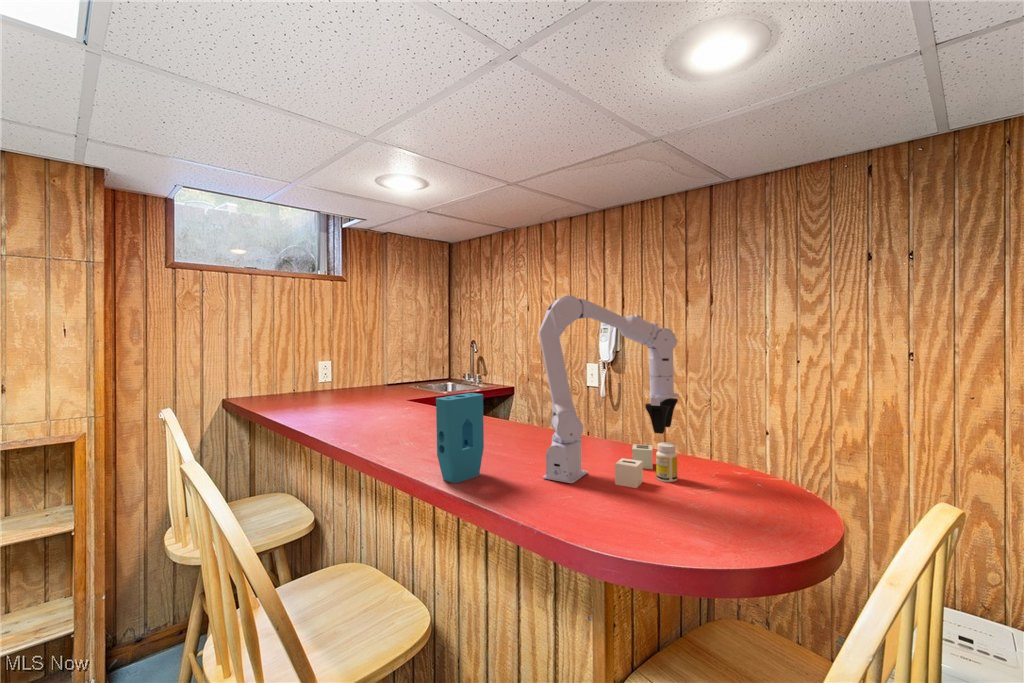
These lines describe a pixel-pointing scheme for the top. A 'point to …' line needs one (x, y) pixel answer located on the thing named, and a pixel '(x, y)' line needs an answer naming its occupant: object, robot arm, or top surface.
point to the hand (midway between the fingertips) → (662, 429)
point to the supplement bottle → (666, 462)
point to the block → (460, 436)
